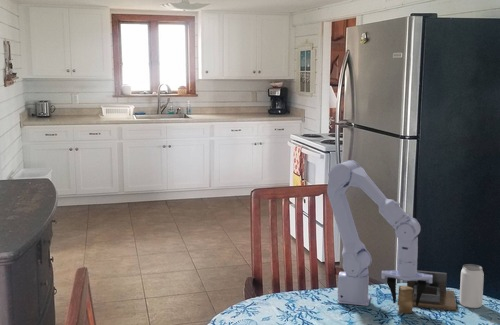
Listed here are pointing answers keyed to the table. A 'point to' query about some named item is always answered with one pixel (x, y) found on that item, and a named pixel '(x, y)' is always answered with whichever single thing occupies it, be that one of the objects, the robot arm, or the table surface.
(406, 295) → the dowel
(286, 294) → the table surface
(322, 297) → the table surface
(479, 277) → the can
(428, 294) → the bracket
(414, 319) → the table surface
